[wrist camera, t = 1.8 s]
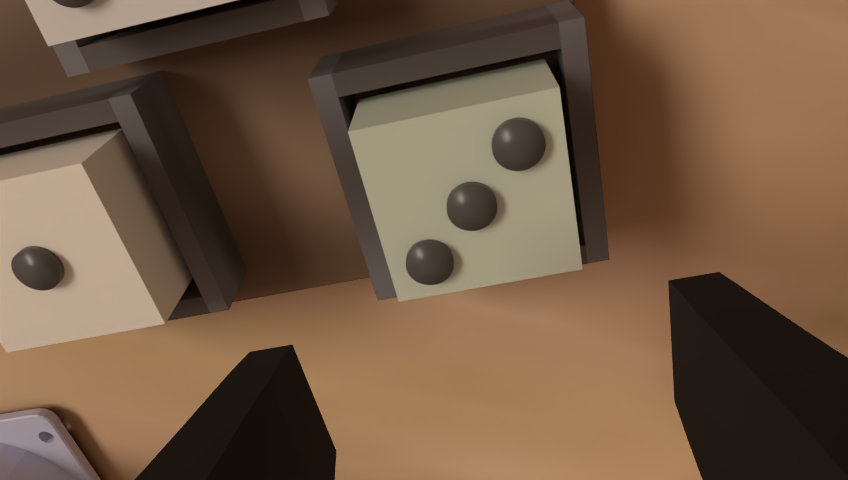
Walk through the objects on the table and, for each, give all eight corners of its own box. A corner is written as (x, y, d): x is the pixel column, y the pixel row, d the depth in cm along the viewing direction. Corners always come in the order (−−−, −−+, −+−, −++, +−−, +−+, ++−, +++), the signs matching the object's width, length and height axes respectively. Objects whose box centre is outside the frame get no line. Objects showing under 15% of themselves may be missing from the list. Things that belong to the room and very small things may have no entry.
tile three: (566, 223, 16) (584, 274, 14) (403, 254, 16) (398, 307, 14) (544, 58, 14) (561, 90, 12) (359, 99, 14) (346, 135, 12)
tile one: (194, 275, 16) (162, 329, 15) (51, 302, 17) (1, 358, 15) (124, 128, 15) (75, 167, 13) (-36, 163, 15) (-104, 206, 13)
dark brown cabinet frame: (589, 213, 18) (615, 272, 15) (95, 306, 20) (44, 372, 17) (518, -403, 12) (541, -479, 9) (-189, -184, 14) (-335, -195, 11)
